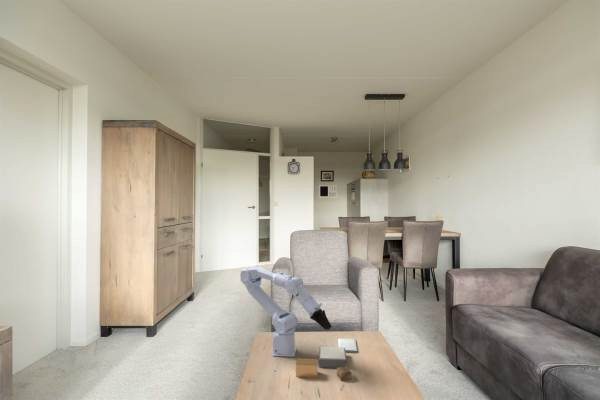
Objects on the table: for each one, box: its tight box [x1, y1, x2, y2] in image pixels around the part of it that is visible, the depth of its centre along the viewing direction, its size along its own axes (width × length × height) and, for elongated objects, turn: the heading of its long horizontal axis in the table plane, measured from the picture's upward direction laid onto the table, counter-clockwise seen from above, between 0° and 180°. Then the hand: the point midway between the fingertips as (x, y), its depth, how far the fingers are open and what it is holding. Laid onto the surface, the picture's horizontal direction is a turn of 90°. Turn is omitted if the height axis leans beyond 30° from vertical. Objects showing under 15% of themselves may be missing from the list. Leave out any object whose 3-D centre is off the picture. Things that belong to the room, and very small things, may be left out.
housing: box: [295, 357, 319, 379], centre depth 114 cm, size 8×4×5 cm, turn 85°
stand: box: [318, 346, 348, 369], centre depth 124 cm, size 11×11×3 cm
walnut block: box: [336, 365, 352, 382], centre depth 112 cm, size 4×4×3 cm
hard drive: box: [337, 338, 358, 354], centre depth 138 cm, size 2×8×12 cm
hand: (328, 328), depth 121 cm, fingers open, 7 cm apart
